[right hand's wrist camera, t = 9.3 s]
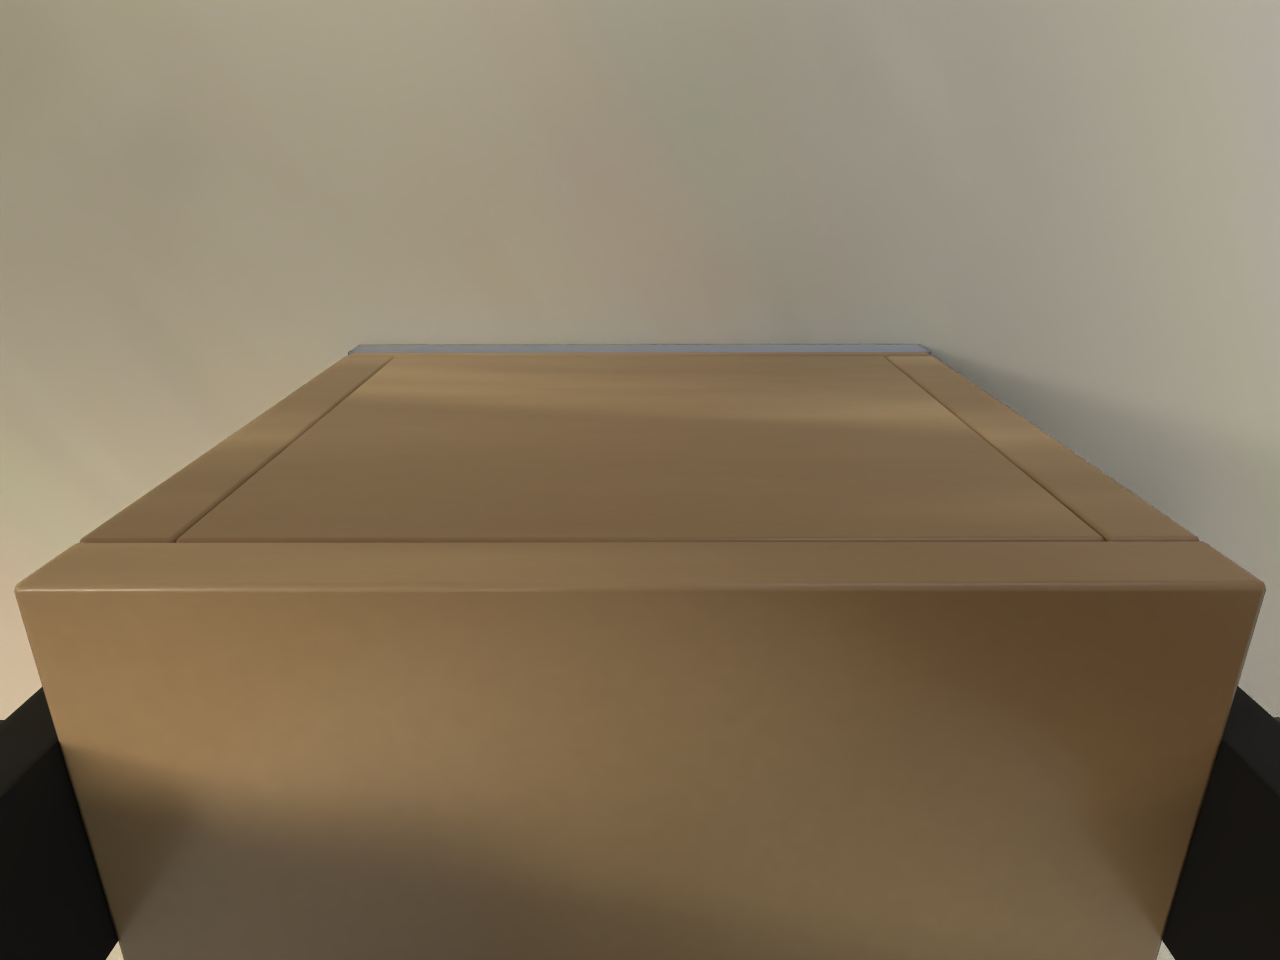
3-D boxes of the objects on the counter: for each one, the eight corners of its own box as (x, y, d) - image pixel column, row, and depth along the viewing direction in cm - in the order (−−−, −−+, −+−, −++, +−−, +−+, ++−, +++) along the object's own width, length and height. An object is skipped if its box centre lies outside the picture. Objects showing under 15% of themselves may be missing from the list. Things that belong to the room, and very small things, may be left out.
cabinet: (848, 946, 24) (997, 1506, 14) (431, 947, 24) (284, 1509, 14) (920, 344, 18) (1273, 582, 8) (358, 344, 18) (7, 584, 8)
